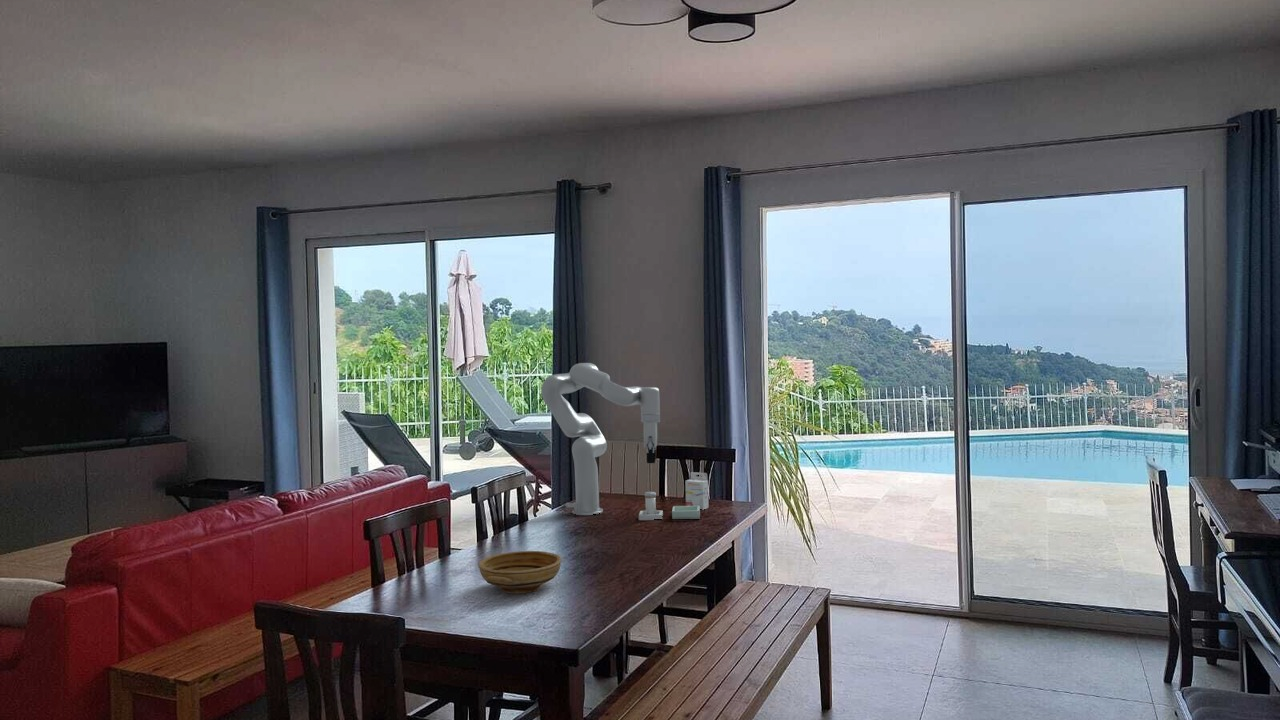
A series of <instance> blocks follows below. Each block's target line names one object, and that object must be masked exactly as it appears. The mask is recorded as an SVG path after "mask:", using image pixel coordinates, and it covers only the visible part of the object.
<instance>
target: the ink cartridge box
mask: <svg viewBox="0 0 1280 720" xmlns="http://www.w3.org/2000/svg"><path fill="white" fill-rule="evenodd" d="M698 475H699V476H698ZM684 482H685V506H700V509H702V510H701V511H705V510H707V509H709V480H708V474H707V472H699V471H698V472H696V471H695V472H694V471H691V472H690V479H687V480H685V481H684ZM704 509H705V510H704Z"/></svg>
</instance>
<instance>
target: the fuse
mask: <svg viewBox="0 0 1280 720" xmlns="http://www.w3.org/2000/svg"><path fill="white" fill-rule="evenodd" d="M656 496H657V493H656V492H655V491H645V492H644V497H645V503H644V504H645V511H646V515H656V511H657V508H656V504H657V503H656V498H657V497H656Z"/></svg>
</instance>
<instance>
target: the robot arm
mask: <svg viewBox="0 0 1280 720" xmlns="http://www.w3.org/2000/svg"><path fill="white" fill-rule="evenodd" d="M541 385H542V386H541V389H540V391H541V392H540V393H541V397H542V400H543V402H544V405H546V407H547V408H548V410H549V411H550V413H551V415H552V417H553V418H554V419H555V421H556V422H557V424H558V426H559V427H560V429H561V431H562V433H564V435H565V436H566V437H568V438H577V439H575V440H574V442H573V443H572V446H571V453H572V457H573V464H574V465H573V466H574V483H575V502H572V503H570V502H566V503H565V509H572V514H573V515H575V514H576V515H575V516H594V515H593V514H596V515H600V514H602V513H604V509H603V508H602V507H600V494H599V492H600V491H599V490H600V489H599V469H598V464H597V460H596V458H598V457H600V456H602V455H604V454H605V452H606V451H607V449H608V443H607V440H606V438H605V436H604V435H603V433H602V432H601V430H600V428H599V427H598V425H597V423H596V422H595V420H594V419H593V417H591V416H590V415H589V414H587V413H584V412H578V413H577V411H575V410H574V408H573V407H572V404H571V403H570V402H569V401H568V400H567V399H566V398H565V397H564V396H563V395H565V394H572V393H574V392H576V391H578V390H581V389H582V388H586V389H589V390H591V391H593V392H595V393H598V394H599V395H601V396H602V398H604V399H605V400H607V401H609V402H611V403H613V404H616V405H619V406H621V407H631V406H639V405H640V422H641V423H643V448H646V447H647V448H646V463H647V464H655V463H656V459H657V449H656V448H657V444H658V423H660V422H661V408H660V407H661V404H660V399H661V398H660V389H659V388H658V387H656V386H645V387H644V386H638V385H637V386H636V385H635V386H627V387H626V386H622V385H620V384H618V383H615V382H613V381H612V380H611V377H610V375H609V374H608V372H607V373H606V372H604V371H601V370H599V368H598V366H597V365H596V364H595V363H592V362H579V363H576V364H574V365H573V366H572V367H571V368H570V370H569V372H567V373H557V374H556V373H555V374H551V375H549V376H547V377H546V378H545V379H544V381H543V383H542V384H541ZM599 513H600V514H599Z"/></svg>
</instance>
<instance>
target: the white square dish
mask: <svg viewBox="0 0 1280 720" xmlns="http://www.w3.org/2000/svg"><path fill="white" fill-rule="evenodd" d="M663 515H664V511H663V510H657V509H656V515H646V510H640V511H639V513H638V521H655V520H654V519H662V520H663V517H664V516H663ZM662 516H663V517H662Z"/></svg>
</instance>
